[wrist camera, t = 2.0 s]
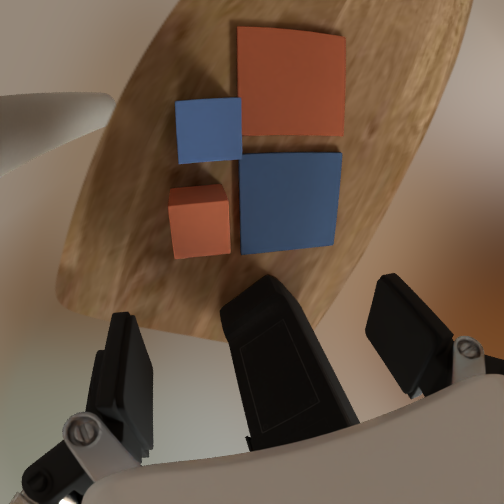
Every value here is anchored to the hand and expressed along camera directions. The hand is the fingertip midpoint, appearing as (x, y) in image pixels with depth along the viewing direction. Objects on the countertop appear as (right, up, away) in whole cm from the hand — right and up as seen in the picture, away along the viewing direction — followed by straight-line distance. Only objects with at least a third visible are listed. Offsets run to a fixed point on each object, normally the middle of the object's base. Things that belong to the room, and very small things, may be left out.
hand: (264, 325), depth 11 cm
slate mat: (+3, +7, +16) cm, 17 cm away
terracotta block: (-5, +6, +14) cm, 16 cm away
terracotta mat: (+3, +16, +10) cm, 19 cm away
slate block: (-4, +12, +11) cm, 17 cm away
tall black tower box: (0, -3, +21) cm, 21 cm away
